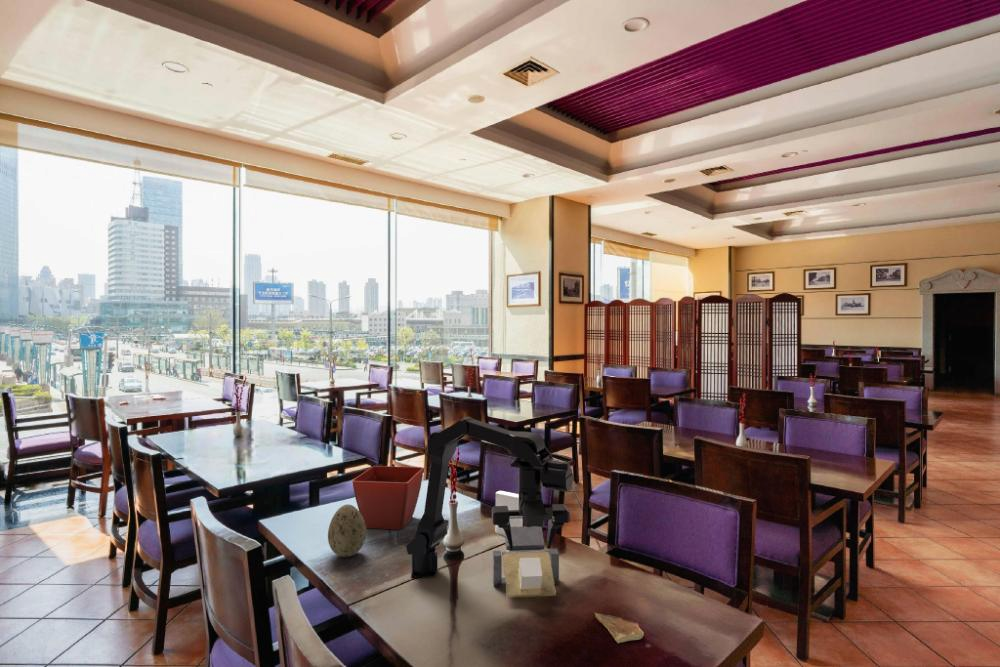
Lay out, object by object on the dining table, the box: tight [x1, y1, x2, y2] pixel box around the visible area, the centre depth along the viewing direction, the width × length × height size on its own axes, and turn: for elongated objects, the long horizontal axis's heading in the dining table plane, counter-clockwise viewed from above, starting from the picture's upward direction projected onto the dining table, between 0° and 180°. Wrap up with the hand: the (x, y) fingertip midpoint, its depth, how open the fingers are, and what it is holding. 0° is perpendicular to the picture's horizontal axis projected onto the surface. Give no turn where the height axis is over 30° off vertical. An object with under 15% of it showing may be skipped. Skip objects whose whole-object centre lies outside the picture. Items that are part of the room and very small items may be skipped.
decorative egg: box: [327, 503, 367, 558], centre depth 152 cm, size 11×11×15 cm
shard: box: [594, 611, 645, 644], centre depth 116 cm, size 11×8×2 cm
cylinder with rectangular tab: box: [494, 490, 523, 536], centre depth 171 cm, size 9×9×12 cm
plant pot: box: [351, 465, 424, 531], centre depth 177 cm, size 19×19×17 cm
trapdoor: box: [501, 525, 557, 599], centre depth 134 cm, size 12×19×3 cm
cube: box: [518, 557, 542, 589], centre depth 128 cm, size 5×5×5 cm
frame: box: [492, 548, 560, 588], centre depth 136 cm, size 17×3×8 cm, turn 95°
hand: (530, 548), depth 128 cm, fingers open, 9 cm apart
